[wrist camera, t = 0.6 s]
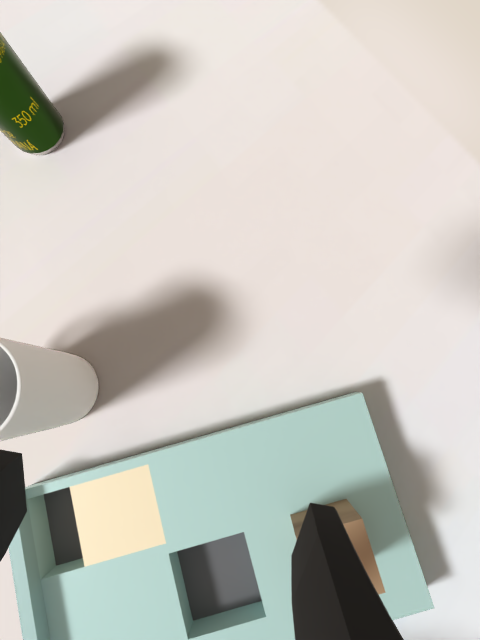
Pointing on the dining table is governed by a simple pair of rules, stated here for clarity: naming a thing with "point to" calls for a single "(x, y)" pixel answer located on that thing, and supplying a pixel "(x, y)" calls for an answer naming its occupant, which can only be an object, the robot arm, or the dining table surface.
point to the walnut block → (351, 538)
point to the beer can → (26, 107)
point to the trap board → (206, 532)
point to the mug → (42, 388)
